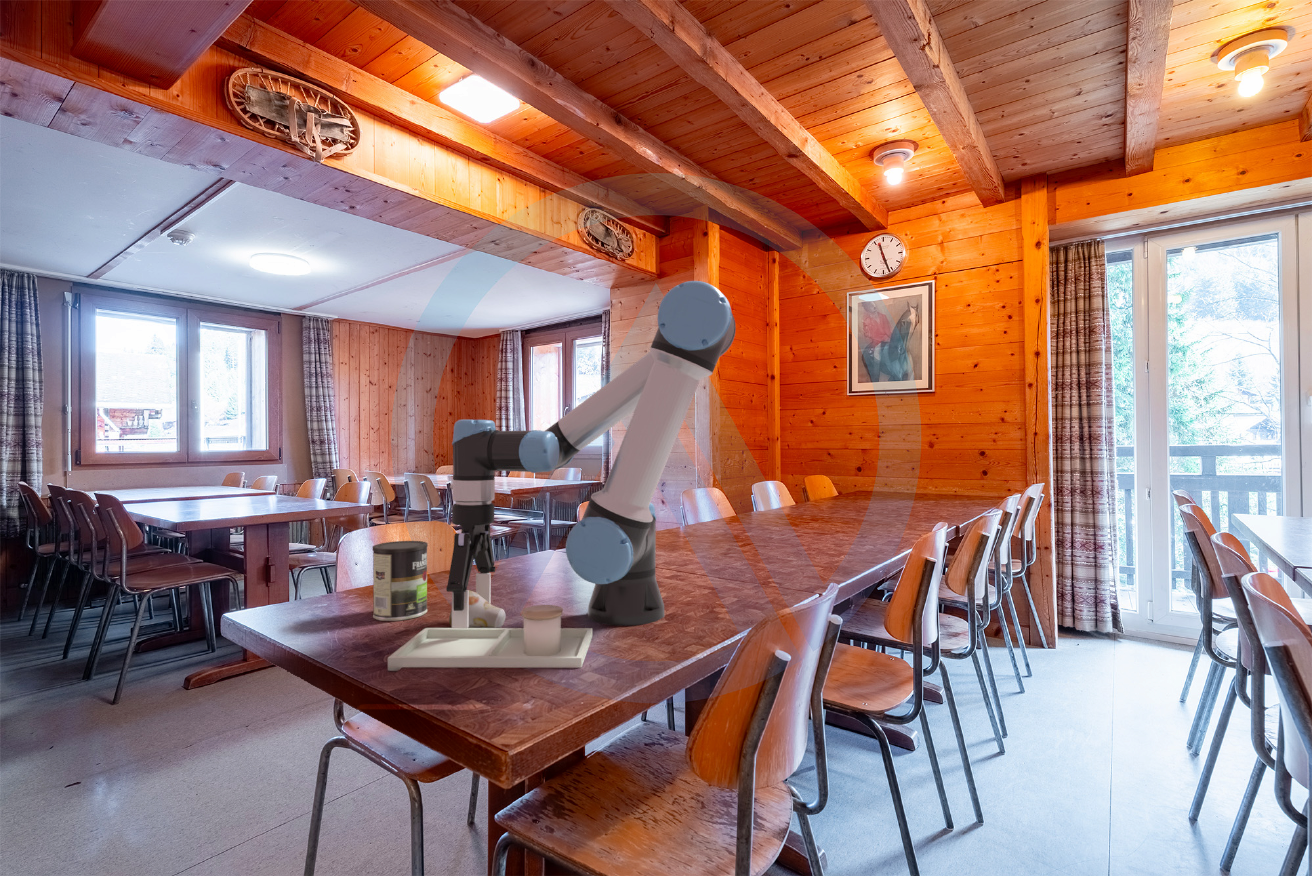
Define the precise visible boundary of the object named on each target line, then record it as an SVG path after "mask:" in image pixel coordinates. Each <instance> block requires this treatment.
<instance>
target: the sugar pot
mask: <svg viewBox="0 0 1312 876" xmlns="http://www.w3.org/2000/svg"><path fill="white" fill-rule="evenodd" d="M563 614H564V612H563V608H562V607H561V606H558V605H555V604H554V605H552V604H537V605H532V606H528V607H525V608H523V609H522V610H521V616H522V618H523V628H524V654H526V655H528V656H552V655H555V654H557V653H559V652H560V651H561V628H562V626H561V625H562V615H563Z"/></svg>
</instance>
